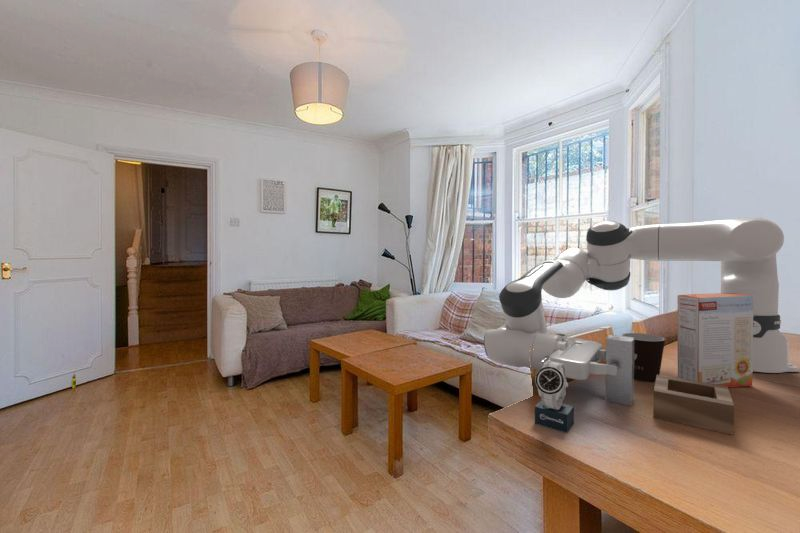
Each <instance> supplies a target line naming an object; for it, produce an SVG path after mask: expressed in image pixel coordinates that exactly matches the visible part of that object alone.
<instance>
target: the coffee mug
mask: <svg viewBox="0 0 800 533" xmlns="http://www.w3.org/2000/svg"><path fill="white" fill-rule="evenodd" d="M621 336H625V337H634V381H635V380H636V381H639V382H646V383H655V381H656V376H657V375H660V372H661V366H662V361H663V355H664V348H665V341H666V338H664V337H662V336H659V335H656V334H655V335H654V334H650V333H642V332H641V333H640V332H639V333H638V332H627V333H626V332H625V333H623V334H621Z"/></svg>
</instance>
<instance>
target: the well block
mask: <svg viewBox="0 0 800 533" xmlns="http://www.w3.org/2000/svg"><path fill="white" fill-rule="evenodd" d="M652 403H653V404H652V406H653V407H652V408H653V409H652V410H653V412H652V413H653V414H652V416H653V418H655V419H660V420H664V421H669V422H672V423H673V422H675V423H677V424H681V425H685V426H691V427H696V428H700V429H703V430H704V429H705V430H709V431H714V432H718V433H722V434H726V435H731V436H734V434H735V433H734V431H735V430H734V426H735V423H734V422H735V404H734V401H733V399H732V395H731V392H730V390H729V387H728V386H724V385H717V384H711V383H705V382H699V381H693V380H687V379H681V378H678V377H674V376H669V375H668V376H666V375H660V374H659V375H657V376H656V381H655V382H654V387H653V402H652Z"/></svg>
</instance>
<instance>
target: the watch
mask: <svg viewBox="0 0 800 533" xmlns="http://www.w3.org/2000/svg"><path fill="white" fill-rule="evenodd" d="M567 381H568V380H567V378H566V369H565V365H564V364H562V363H557V362H551V361H549V362H548V363H547V364H544V366H543V367H542V368H541V369H540V370H539V371H536V374H535V378H534V383H535V386H536V388H537V392H538V395H539V397H540V398H541V400H540V401H538V402H537V404H535V406H534V424H536V425H539V426H543V427H546V428H549V429H553V430H557V431H559V432H563V433H567V434H568V433H569V431H570V429H571V428H572V426H573V425H574V421H575V417H574V416H575V412H574V411H575V406H574V405H570V404H566V403H563V401H565V398H566V394H567V392H566V391H567V388H568V387H569V382H567Z"/></svg>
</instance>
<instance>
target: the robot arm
mask: <svg viewBox="0 0 800 533" xmlns="http://www.w3.org/2000/svg"><path fill="white" fill-rule="evenodd" d="M585 239H586V240H585V241H586V251H585V250H583V249H581V248H578V247H570V248H568V249H567V248H566V249H565V250H563V251H562V252H561V253H559V254H558V255H557V256H555V258H553V259H547V260H544V261H542V262H539V263H538V264H537V265H535V266H534V267H532V268H531V269H529V271H527V272H526V273H525V274H523V275H522V276H521V277H519V278H517V279H515V280H513V281H511V282H509V283H507V284H506V285H505V286H504V287H503V288H502V289H501V291H500V292H499V296H498V298H499V302H500V305H501V308H502V311H503V315H504V318H505V323H504V324H503V325H502V326H500V327H498V328H495V329H494V328H491V329H490V328H489V329H487V330H486V331H485V333H484V338H483V347H484V351H485V352H484V353H485V354H486V356H487V359H489V360H490V361H493V362H495V363H497V364H502V365H504V366H509V367H515V368H529V369H530V370H532V369H533V370H532V371H535V370H538V371H539V370H540V369H541V368H542V367H543V366H544V364H547V363H548V362H549V361H551V362H557V363H562V364H564V365H565V369H566V379H567V378H568V379H572V380H576V381H586V380H587V379H588V378H589V376H590V375H606V374H609V375H616V374H617V372H618V367H617V365H614V364H606V363H599V362H600V361H601V360H602V361H606V349H604V348H603V344H602V343H600V342H598V341H594V340H589V339H584V338H579V337H570V336H569V337H568V335H567V334H566V333H565V334H564V333H555V334H551V333H548V328H547V321H546V318H545V311H544V306H543V300H542V298H543V297H542V292H543V291H544V292H545V293H547V294H548V295H549V296H551V297H554V298H558V299H567V298H571V297H572V296H574V295H575V294H576V293H578V292H579V290H580V289H581V287H583V285H584V283H585V282H587V283H588V284H590V285H592V286H594V287H595V288H597V289H601V290H603V291H617V290H618V291H619V290H620V289H623V288H624V287H626V286H628V284H629V282H630V278H631V272H630V269H631V260H638V261H653V262H654V261H655V262H659V261H660V262H663V261H664V262H681V261H682V262H720V293H737V294H745V295H753V372H757V373H769V374H777V373H778V374H779V373H780V374H782V373H788V372H790V373H791V372H792V373H794V372H796V373H798V372H799V367H798V366H796V365H794V364H793V363H791V362H790V357H789V356H790V353H789V348H790V347H789V338H788V337H787V336H785V335H784V334H783V333H782V332H780V329H781V323H782V320H781V315H780V314H779V288H780V287H779V286H780V283H779V277H778V275H779V274H778V266H777V264H778V263H777V253H779V252H780V250H781V249H782V247H783V245H784V243H785V235H784V232H783V230H782V228H781V227H780V226H779V225H778V224H776V223H775V222H773V221H771V220H769V219H767V218H762V217H761V218H760V217H748V218H747V217H746V218H733V219H732V218H731V219H719V220H718V219H717V220H705V221H694V222H676V223H674V222H673V223H658V224H657V223H654V224H646V225H639V226H634V227H627V226H625V225H624V224H622V223H621V222H618V221H613V220H603V221H599V222H597V223H594V224H592V225H591V226H590V227H589V228H588V229H587V232H586V238H585ZM533 349H534V350H533ZM529 350H531V351H532V352H529ZM529 357H530V361H529ZM530 363H531V364H530ZM530 365H531V367H530ZM534 369H535V370H534ZM538 371H537V372H538Z"/></svg>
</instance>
